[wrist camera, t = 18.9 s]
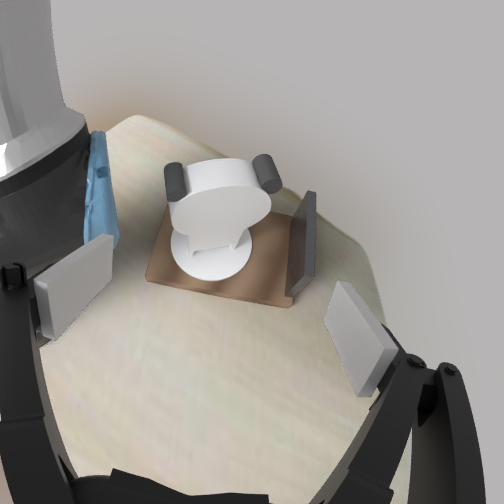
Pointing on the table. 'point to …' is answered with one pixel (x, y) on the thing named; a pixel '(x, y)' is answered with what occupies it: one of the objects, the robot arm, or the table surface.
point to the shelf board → (247, 279)
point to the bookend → (301, 246)
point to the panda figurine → (217, 212)
